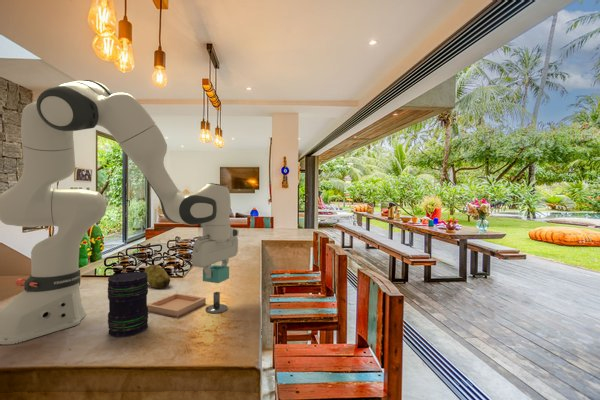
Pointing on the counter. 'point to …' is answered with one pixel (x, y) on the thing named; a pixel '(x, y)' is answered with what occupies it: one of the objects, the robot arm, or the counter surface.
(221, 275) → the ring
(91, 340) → the counter surface
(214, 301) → the grey peg stand
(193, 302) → the tray
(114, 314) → the storage jar
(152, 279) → the potato
